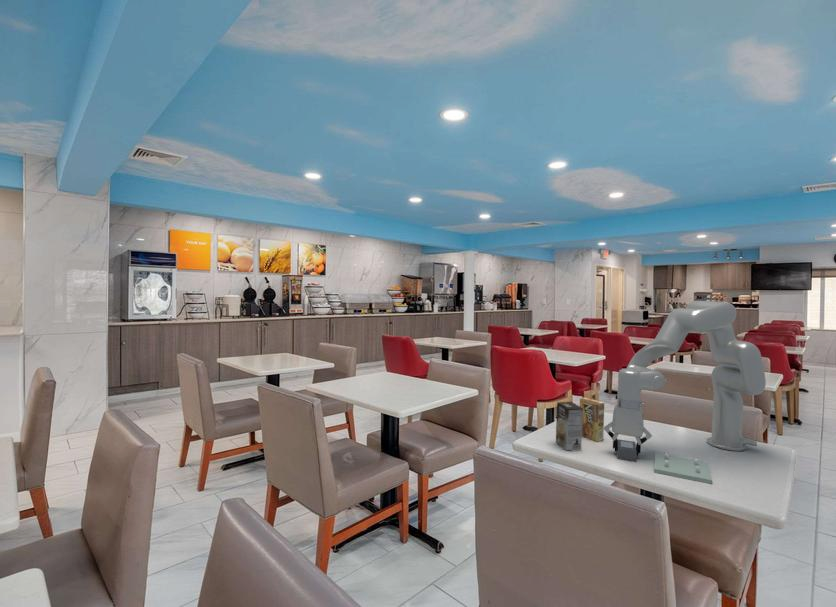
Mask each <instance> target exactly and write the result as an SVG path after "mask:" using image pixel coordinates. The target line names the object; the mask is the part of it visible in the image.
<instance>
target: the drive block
mask: <svg viewBox="0 0 836 607" xmlns="http://www.w3.org/2000/svg"><path fill="white" fill-rule="evenodd" d="M617 439H618V438H617ZM636 443H637V442H636V441H631V440H626V439H624V440H623V439H618V446H617V452H616V455H617V456H616V458H617V460H621V461H628V462H632V463H637V456H636V455H637V450H636Z"/></svg>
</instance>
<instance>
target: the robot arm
mask: <svg viewBox="0 0 836 607" xmlns="http://www.w3.org/2000/svg"><path fill="white" fill-rule="evenodd" d="M736 317H737V308H736V306H734V305H733V304H732V303H730V302H727V301H713V300H712V301H711V300H692V301H690V302H689V303H688V304H686V306H685V307H683V308H682V307H679V308H678V307H677V308H674V309H672V310H671V311H670V312H669V313H668V316H667V317H666V319H665V320H664V323H663V324H662V325H661V328H660V330H659V331H658V333H657V334H656V336H655V338H654V340H652V341H651V342H649V343H648V344H646V345H644V346H643V347H642V348H641V349H638V351H637V352H636V353H635V354H634V355H633V356H632V357H631V359H630V361H629V363H628V365H626V366H627V367H626V368H621V369H620V370H619V371H618V374H617V378H618V380H617V398H616V399H617V401H616V402H617V403H616V404H615V405H614V409H613V412H612V413H613V414H612V421H611V422H610V423H608V424H607V425H604V431H605V432H606V433H607V435H608V436H609V437H610V439H611V440H612V449H614V452H616V453H617V446H618V437H619V435H622V436H629V437H635V440H636V442H635V443H636V450H637V455H636V457H638V456H639V454H641V452H642V451H641V447H642V444H644V443H645V442H647V441H648V440H650V439H651V438H652V437H653V435H652V433H650V431H649V430H648V429H647V427H645V426H644V425H645V424H644V412H643V408H642V407H645V406H646V403H645V402H643V401H641V396H642V394H641V393H642V392H641V391H649V392H650V391H651V392H655V391H659V390H661V389H663V388H664V387H665V385H666V378H665V375H663V374H662V373H661V372H660V371H658V370H656V369H651V368H649V367H648V366H649V365H650V364H651V363H652V362H654V361H656V360H657V359H659V358H662V357H666V356H669V355H674V354H676V353H678V351H679V350H680V348H681V346H682V344H684V341H685V340H686V337H687V336H688V334H689V333H697V334H701V333H702V334H705V333H706V335H707V340H708V344H709V350H710V353H711V354H710V355H711V357H712V358H713V360H714V361H716V362H717V363H720V364H718V365H716V366H715V367H714V368H713V369H712V371H711V376H710V377H711V383H712V390H713V391H712V392H713V400H712V418H711V419H712V424H711V436H709V437H707V438H706V443H707V444H708V445H710V446H713V447H715V448H718V449H721V450H726V451H733V452H741V451H742V452H743V451H746V449H747V445H748V446H752V447H757V446H758V445H757V444H758V442H757V440H752V439H751V438H745V437H744V436H743V434H742V433H743V432H742V431H743V429H742V428H743V415H744V414H743V413H744V400H743V397H742V395H741V394H744V395H748V396H758V395H761V394H762V393H764V390H765V389H766V374H765V370H764V363H763V358H762V354H761V351H760V349H759V348H758V346H756V344H754V343H752V342H749V341H744V340H739V339H737V338H736V336H735V331H734V329H733V328H734V327H733V325H732V323H734V321H735V320H736ZM610 428H611V429H610ZM643 434H645V436H643ZM641 437H642V438H641Z"/></svg>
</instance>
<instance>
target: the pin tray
mask: <svg viewBox="0 0 836 607" xmlns="http://www.w3.org/2000/svg"><path fill="white" fill-rule="evenodd" d="M653 473H656V474H660V475H666V476H670V477H676V478H679V479H685V480H690V481H694V482H695V481H696V482H699V483H706V484H710V485H712V484H713V479H712V478H713V477H712V475H711V473H712V472H711V470H710V466H709V462H705V461H701V460H699V458H697V457H696V458H694V459H690V458H686V457H684V458H683V457H680V456H675V455H674V456H673V455H669V453H667V452H664V454H663V453H662V454H661V453H658V452H655V453H654V466H653Z"/></svg>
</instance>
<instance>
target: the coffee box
mask: <svg viewBox="0 0 836 607" xmlns="http://www.w3.org/2000/svg"><path fill="white" fill-rule="evenodd" d="M556 404H557V405H556V424H555V425H556V427H555V429H556V430H555V443H556V444H558V446H560V447H561V448H562V447H563V448H564V450H565V451H566V450H576V451H582V442H583V441H582V439H583V438H582V437H583V436H582V420H583V408H581V407H580V405H578V404H576V403H574V402H572V401H560V402H559V401H557V402H556Z"/></svg>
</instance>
